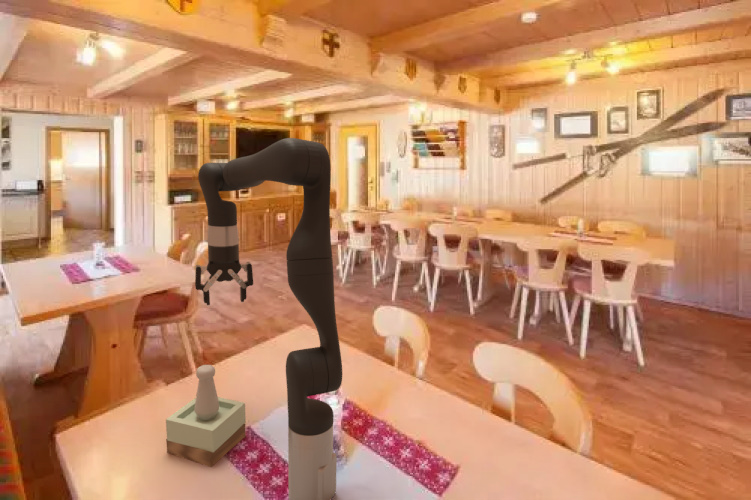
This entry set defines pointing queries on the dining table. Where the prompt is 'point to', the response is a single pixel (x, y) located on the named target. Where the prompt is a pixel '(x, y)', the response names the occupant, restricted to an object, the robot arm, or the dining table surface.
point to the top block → (205, 425)
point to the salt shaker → (206, 394)
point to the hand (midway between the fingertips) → (225, 302)
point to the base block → (203, 455)
